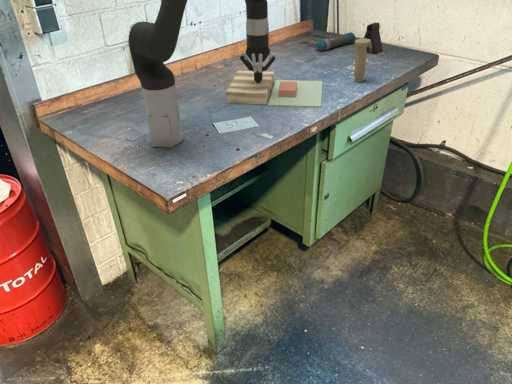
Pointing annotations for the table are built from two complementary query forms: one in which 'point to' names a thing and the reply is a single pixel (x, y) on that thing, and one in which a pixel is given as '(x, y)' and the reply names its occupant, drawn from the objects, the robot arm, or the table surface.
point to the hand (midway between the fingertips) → (258, 81)
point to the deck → (250, 88)
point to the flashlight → (335, 41)
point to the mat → (299, 94)
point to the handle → (361, 58)
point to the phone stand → (374, 38)
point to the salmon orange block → (287, 89)
